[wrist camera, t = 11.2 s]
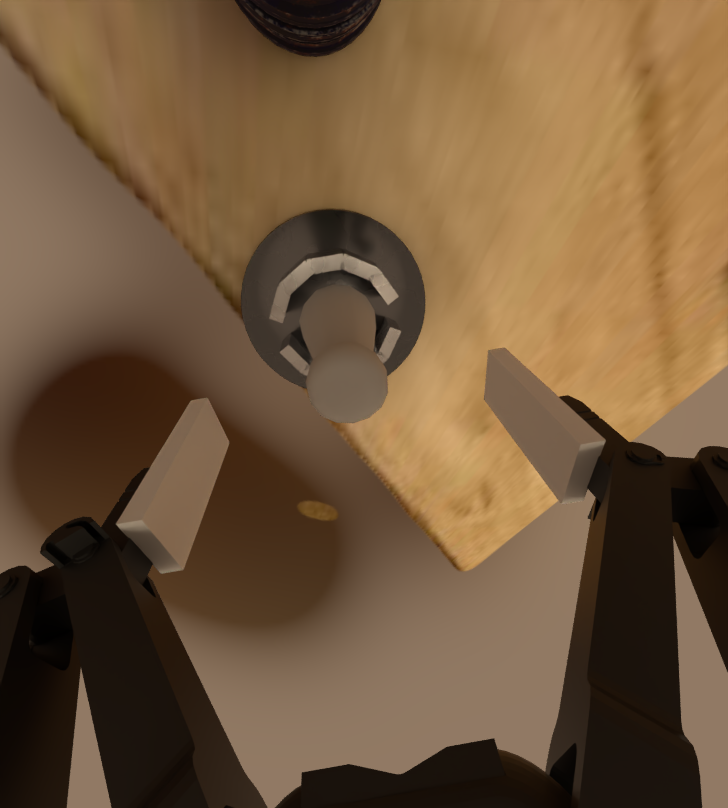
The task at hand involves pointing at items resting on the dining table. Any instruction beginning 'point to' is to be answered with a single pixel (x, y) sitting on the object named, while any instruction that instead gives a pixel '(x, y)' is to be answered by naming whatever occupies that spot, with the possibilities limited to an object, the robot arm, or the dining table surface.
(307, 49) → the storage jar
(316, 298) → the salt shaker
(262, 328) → the socket
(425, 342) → the dining table surface
